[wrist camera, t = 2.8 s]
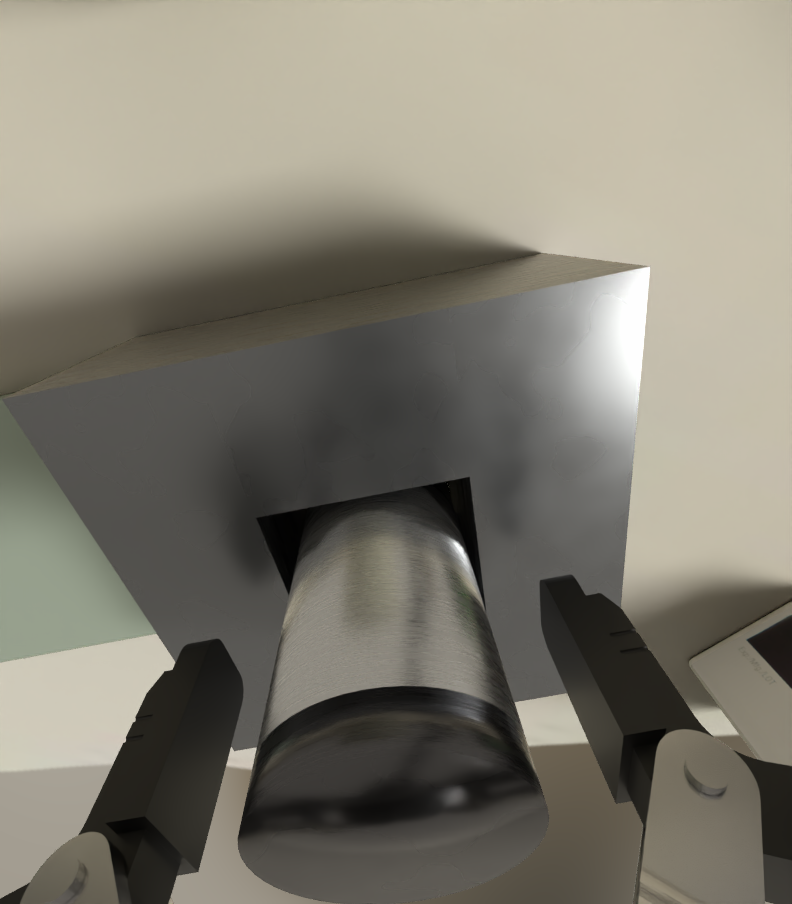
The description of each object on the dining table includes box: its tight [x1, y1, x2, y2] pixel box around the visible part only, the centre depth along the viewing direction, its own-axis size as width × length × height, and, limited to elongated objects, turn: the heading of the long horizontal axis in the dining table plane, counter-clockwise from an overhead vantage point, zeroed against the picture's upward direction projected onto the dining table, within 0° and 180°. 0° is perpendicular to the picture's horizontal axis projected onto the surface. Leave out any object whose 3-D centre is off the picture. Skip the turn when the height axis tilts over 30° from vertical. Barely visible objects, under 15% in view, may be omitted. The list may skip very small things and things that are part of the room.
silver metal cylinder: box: [238, 482, 549, 904], centre depth 12 cm, size 5×5×12 cm
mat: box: [0, 393, 157, 662], centre depth 18 cm, size 12×12×1 cm
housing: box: [2, 253, 650, 751], centre depth 15 cm, size 14×14×6 cm
